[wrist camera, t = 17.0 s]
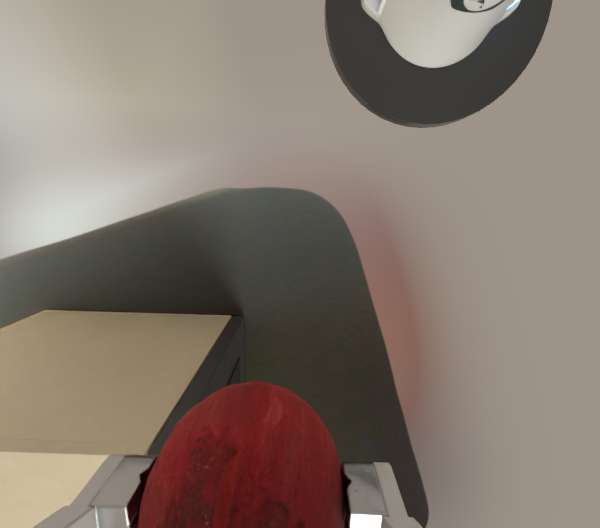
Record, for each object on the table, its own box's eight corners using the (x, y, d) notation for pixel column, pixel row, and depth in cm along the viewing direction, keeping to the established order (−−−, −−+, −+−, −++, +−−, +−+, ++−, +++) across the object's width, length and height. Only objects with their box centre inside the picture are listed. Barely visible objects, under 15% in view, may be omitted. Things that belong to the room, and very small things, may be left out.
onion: (180, 356, 12) (-56, 654, 4) (316, 329, 12) (343, 598, 4) (219, 468, 13) (93, 864, 5) (342, 447, 13) (404, 837, 5)
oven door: (283, 317, 42) (256, 458, 19) (280, 490, 49) (259, 749, 26) (233, 315, 42) (146, 454, 19) (237, 489, 49) (178, 745, 26)
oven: (231, 315, 42) (143, 456, 19) (236, 488, 49) (175, 748, 26) (45, 309, 43) (-272, 442, 19) (75, 483, 49) (-130, 736, 26)
